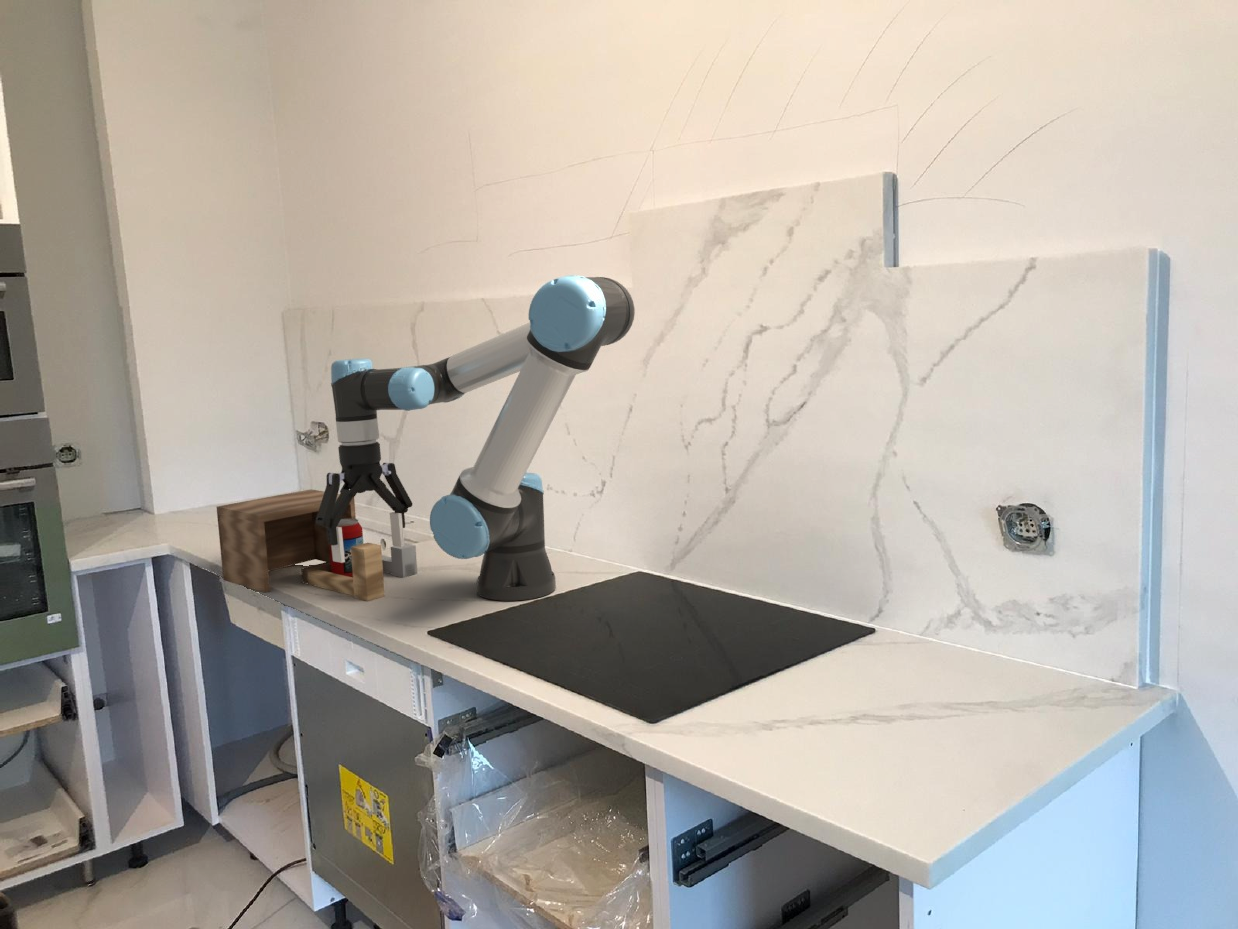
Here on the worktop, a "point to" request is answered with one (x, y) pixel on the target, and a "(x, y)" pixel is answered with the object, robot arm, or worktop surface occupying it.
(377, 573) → the crook tool
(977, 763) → the worktop surface
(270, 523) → the shelf
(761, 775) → the worktop surface
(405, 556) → the grey hooked tool
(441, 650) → the worktop surface
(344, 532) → the beverage can
